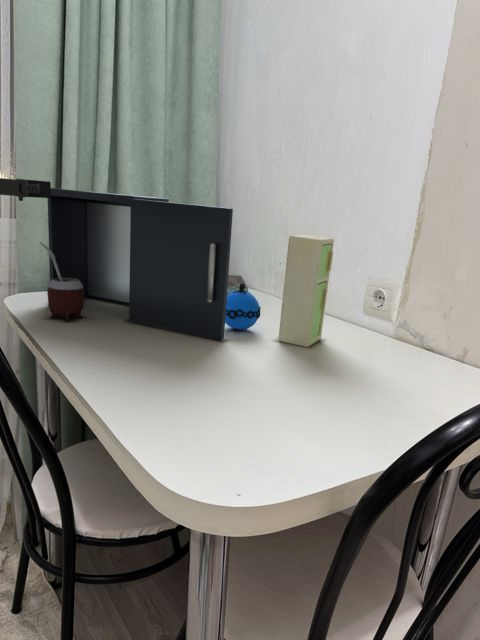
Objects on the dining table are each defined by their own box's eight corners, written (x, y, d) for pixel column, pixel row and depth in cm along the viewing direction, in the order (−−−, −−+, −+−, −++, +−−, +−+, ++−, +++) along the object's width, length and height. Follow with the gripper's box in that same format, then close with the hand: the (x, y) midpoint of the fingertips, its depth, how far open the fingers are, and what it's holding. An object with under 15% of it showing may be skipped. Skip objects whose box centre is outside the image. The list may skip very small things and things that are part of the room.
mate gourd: (87, 321, 104) (86, 247, 99) (45, 322, 100) (42, 245, 96) (81, 313, 110) (80, 243, 106) (42, 314, 106) (39, 241, 102)
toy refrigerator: (311, 348, 99) (324, 239, 93) (277, 341, 102) (288, 235, 96) (324, 340, 106) (337, 238, 100) (292, 333, 109) (303, 234, 103)
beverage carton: (215, 309, 125) (217, 283, 124) (212, 295, 144) (214, 272, 142) (247, 311, 127) (249, 285, 125) (240, 297, 145) (242, 274, 143)
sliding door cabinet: (40, 305, 113) (36, 187, 106) (87, 297, 126) (86, 191, 119) (217, 343, 97) (226, 205, 90) (249, 328, 110) (260, 207, 103)
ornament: (228, 322, 113) (231, 278, 111) (264, 328, 111) (268, 283, 108) (211, 330, 106) (214, 283, 103) (250, 337, 103) (254, 288, 100)
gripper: (-48, 153, 65) (74, 168, 83) (-165, 144, 74) (-32, 160, 93) (-43, 214, 67) (75, 215, 86) (-157, 198, 76) (-29, 202, 95)
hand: (20, 186), depth 89 cm, fingers open, 13 cm apart
